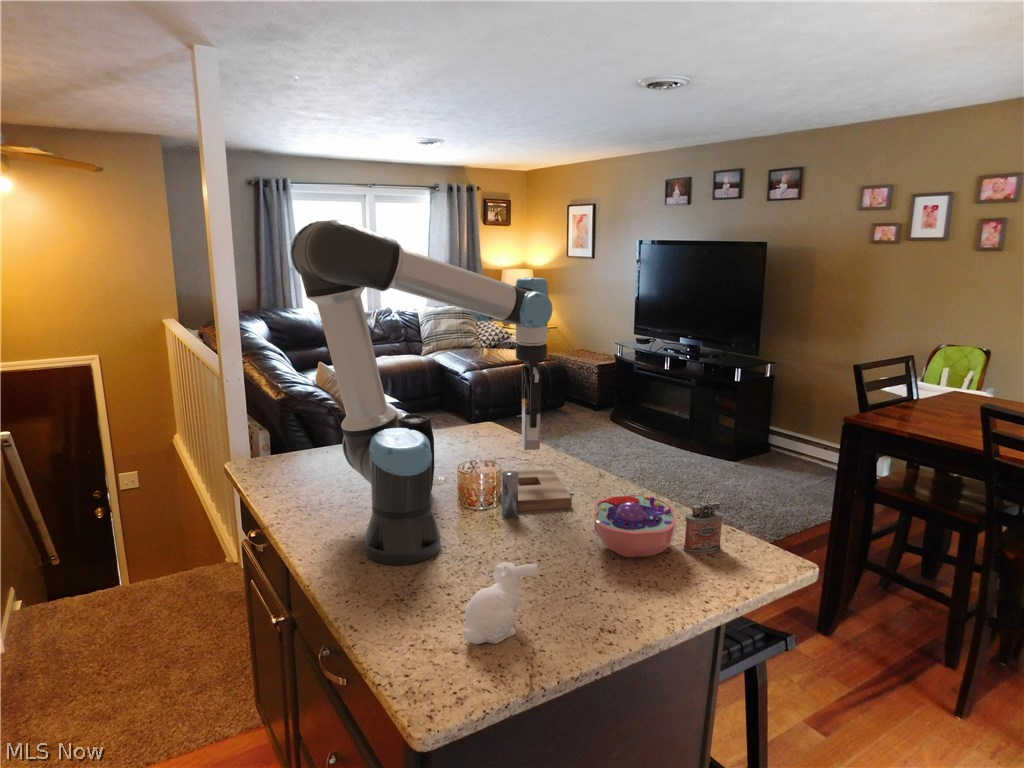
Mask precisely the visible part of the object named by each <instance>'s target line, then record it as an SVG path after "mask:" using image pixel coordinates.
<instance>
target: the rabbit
mask: <svg viewBox="0 0 1024 768" xmlns="http://www.w3.org/2000/svg"><path fill="white" fill-rule="evenodd" d="M537 573H538V563H537V562H536V563H535V562H534V563H527V564H521V565H517V566H516V565H515V563H513V562H509V561H508V562H505V561H503V562H500V563H498V564H497V565H496V566H495V568H494V571H493V573H492V579H493V580H494V583H493V584H492V585H491V586H489V587H484V588H480V589H479V590H478V591H476V592H475V593H474V595H473V596H472V597H471V599H470V600H469V601H468V603H467V605H466V607H465V612H464V614H465V617H464V619H465V627H466V628H465V629H464V630H463V636H464V640H466V641H467V642H469V643H471V644H476V645H481V644H484V643H490V644H499V643H500V642H503V641H504V640H505V639H508V638H509V637H513V636H514V635H516V633H517V631H516V629H515V627H514V625H515V621H516V612H515V611H517V609H518V608H519V606H520V603H521V593H520V590H519V588H518V584H519V581H520V577H519V576H521V577H529V578H530V577H532V578H533V577H535V576H536V575H537Z"/></svg>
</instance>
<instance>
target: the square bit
mask: <svg viewBox="0 0 1024 768" xmlns="http://www.w3.org/2000/svg"><path fill="white" fill-rule="evenodd" d="M525 412H528V399H522V398H521V447H522V448H523V450H524V451H533V450H534V451H535V450H541V447H540V446H541V413H540V414H538V440H527V415H525Z"/></svg>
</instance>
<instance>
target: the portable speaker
mask: <svg viewBox="0 0 1024 768" xmlns="http://www.w3.org/2000/svg"><path fill="white" fill-rule="evenodd" d="M398 423H399V427H400V428H407V429H409V430H416V431H418V432H421V433H422V434H424V435H425V436H426V437H427V438H428V440H429V442H430V448H431V453H432V461H431V492H432V490H433V487H434V486H433V484H434V478H435V477H434V474H435V437H434V433H433V428H432V427H433V426H432V422H431V417H429V416H426V415H422V414H421V413H408V414H405V415H404V416H402V417H401V418H398Z"/></svg>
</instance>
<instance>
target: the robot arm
mask: <svg viewBox="0 0 1024 768" xmlns="http://www.w3.org/2000/svg"><path fill="white" fill-rule="evenodd" d="M289 253H290V259H291V263H292V265H293V267H294V269H295V270H296V272H297V274H298V275H300V276H301V281H302V285H303V289H304V291H305V295H306V296H305V297H306V298H307V299H308V300H310V301H312V302H313V303H315V304H316V305H317V310H318V313H319V318H320V320H321V321H320V322H321V324H322V328H323V333H324V336H325V340H326V343H327V349H328V351H329V355H330V358H331V359H330V360H331V363H332V367H333V370H334V375H335V377H336V381H337V386H338V390H339V393H340V396H341V400H342V404H343V408H344V411H345V415H346V416H345V417H344V419H343V420H342V422H341V424H340V427H341V429H342V434H343V437H342V452H343V455H344V457H345V460H346V461H347V463H348V465H350V467H351V468H352V469H353V470H354V471H355V472H356V473H358V474H360V475H361V476H362V478H364V479H365V480H366V481H367V482H368V483H369V484H370V487H371V508H372V509H371V510H372V511H371V517H370V519H369V523H368V526H367V528H366V531H365V536H364V540H363V545H364V548H363V550H364V554H365V556H366V557H368V558H369V560H371V561H373V562H376V563H379V564H382V565H387V566H388V565H389V566H406V565H407V566H408V565H412V564H417V563H421V562H424V561H426V560H429V559H431V558H433V557H434V556H435V555H436V554H438V553H439V551H440V550H441V543H442V542H441V538H442V537H441V533H440V530H439V527H438V525H437V522H436V519H435V516H434V513H433V510H432V491H431V461H432V453H431V448H430V442H429V440H428V438H427V437H426V436H425V435H424V434H422V433H421V432H418V431H416V430H409V429H407V428H400V427H399V423H398V419H399V417H398V414H397V411H396V410H395V409H394V408H392V407H390V406H389V405H388V403H387V401H386V396H385V391H384V388H383V384H382V383H383V382H382V380H381V376H380V371H379V366H378V363H377V359H376V355H375V350H374V346H373V342H372V338H371V333H370V329H369V324H368V321H367V317H366V312H365V308H364V304H363V301H362V293H363V292H364V290H365V289H366V288H369V289H374V290H377V291H379V292H380V291H381V292H386V291H388V290H389V289H393V290H396V291H400V292H403V293H407V294H411V295H414V296H417V297H421V298H424V299H428V300H430V301H434V302H438V303H442V304H444V305H449V306H452V307H455V308H459V309H461V310H465V311H468V312H469V314H470V317H471V318H472V319H473V320H474V321H476V322H485V323H488V322H499V323H504V324H508V325H515V341H516V342H517V343H516V345H515V358H516V360H518V361H523V364H521V367H520V369H521V400H522V399H528V412H525V415H527V440H538V414H540V415H541V412H542V410H541V409H542V404H541V403H542V382H543V381H542V379H543V374H542V368H541V367H539V362H540V361H541V362H543V361H546V360H547V358H548V345H547V343H546V342H548V334H549V333H550V331H551V330H550V329H549V328H548V324H549V322H550V321H551V318H552V316H553V310H554V309H553V303H552V301H551V299H550V296H549V283H548V280H547V279H546V278H543V277H518V278H517V279H516V282H515V285H512V284H510V283H506V282H504V281H501V280H499V279H495V278H492V277H489V276H486V275H483V274H480V273H477V272H474V271H470V270H469V269H465V268H462V267H460V266H456V265H453V264H451V263H447V262H444V261H441V260H438V259H435V258H432V257H429V256H426V255H424V254H420V253H418V252H415V251H412V250H409V249H405V248H403V247H402V246H401V244H400V242H399V241H398V240H396V239H393V238H392V237H391V238H390V237H388V236H385V235H383V234H380V233H377V232H376V231H373V230H371V229H368V228H366V227H363V226H361V225H359V224H357V223H354V222H353V221H352V222H351V221H348V220H343V219H332V220H316V221H314V222H311V223H309V224H307V225H305V226H304V227H302V228H301V229H299V230H298V232H296V234H295V236H294V237H293V239H292V242H291V244H290V251H289Z"/></svg>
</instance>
